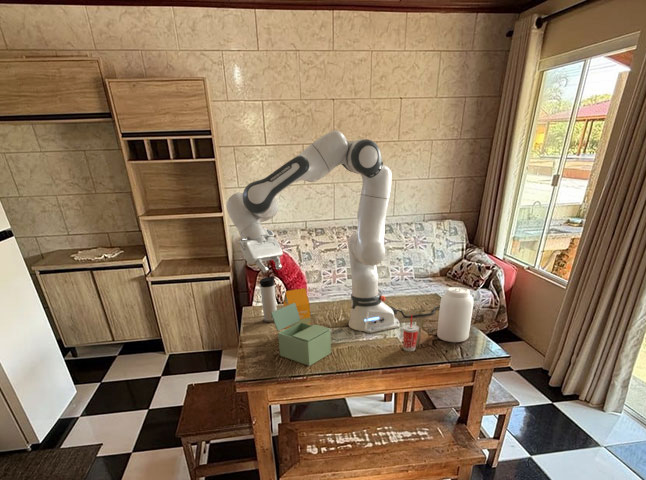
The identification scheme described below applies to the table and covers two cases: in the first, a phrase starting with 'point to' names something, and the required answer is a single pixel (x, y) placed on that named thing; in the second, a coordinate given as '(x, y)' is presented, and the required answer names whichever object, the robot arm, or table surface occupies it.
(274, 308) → the travel mug
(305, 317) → the orange juice
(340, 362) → the table surface
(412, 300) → the table surface
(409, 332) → the beverage cup
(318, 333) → the storage box
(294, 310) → the flap
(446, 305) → the white upright cylinder
